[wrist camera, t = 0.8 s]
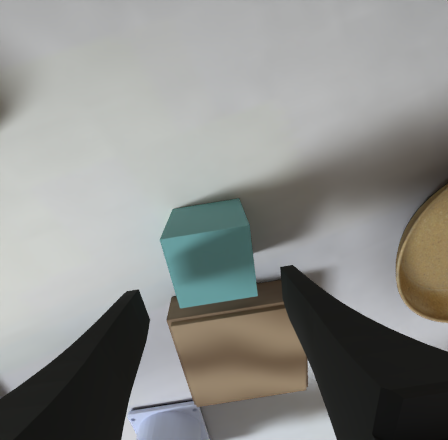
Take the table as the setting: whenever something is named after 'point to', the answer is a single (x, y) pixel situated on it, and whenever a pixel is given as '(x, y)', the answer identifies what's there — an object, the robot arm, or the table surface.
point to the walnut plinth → (239, 348)
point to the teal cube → (209, 253)
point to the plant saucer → (426, 259)
